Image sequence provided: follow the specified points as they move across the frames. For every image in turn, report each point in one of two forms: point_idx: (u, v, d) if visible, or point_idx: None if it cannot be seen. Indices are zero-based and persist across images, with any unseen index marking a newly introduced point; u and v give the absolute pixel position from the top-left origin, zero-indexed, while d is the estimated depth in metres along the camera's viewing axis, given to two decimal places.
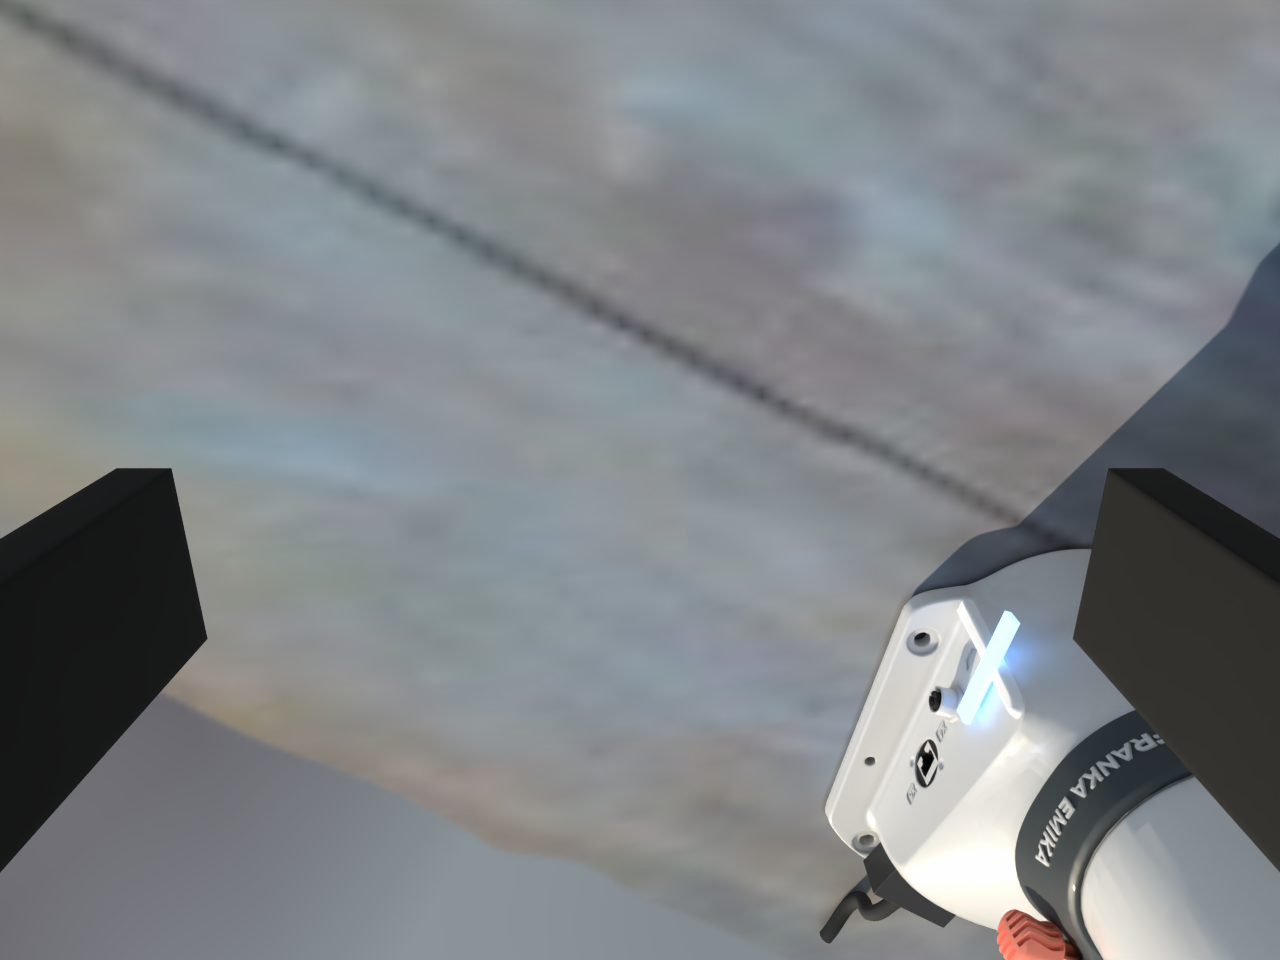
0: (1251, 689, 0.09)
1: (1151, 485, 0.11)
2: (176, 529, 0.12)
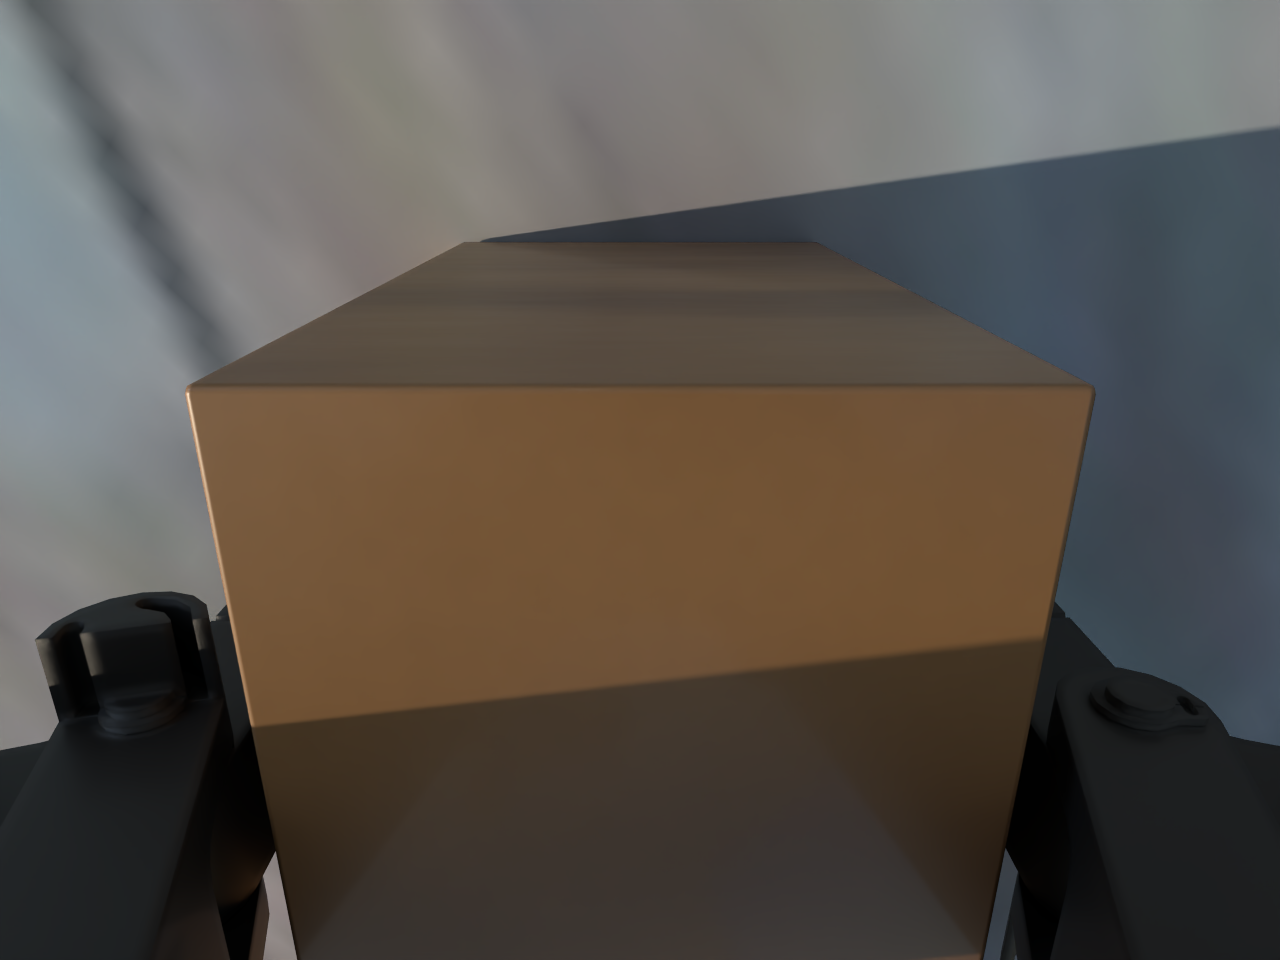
0: None
1: None
2: None
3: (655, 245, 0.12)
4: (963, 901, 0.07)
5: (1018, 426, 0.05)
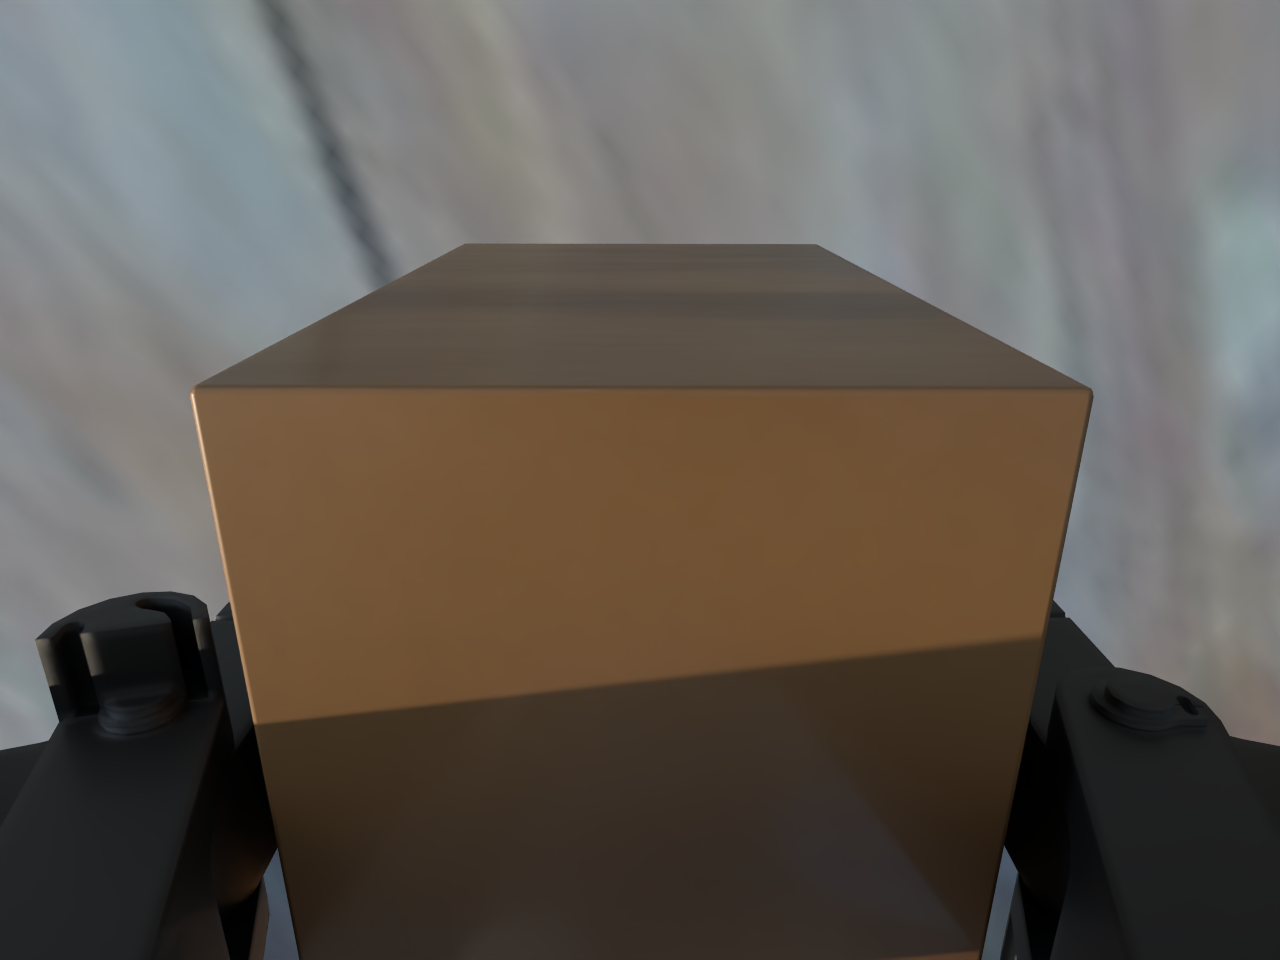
0: None
1: None
2: None
3: (656, 247, 0.13)
4: (961, 900, 0.07)
5: (1016, 430, 0.05)
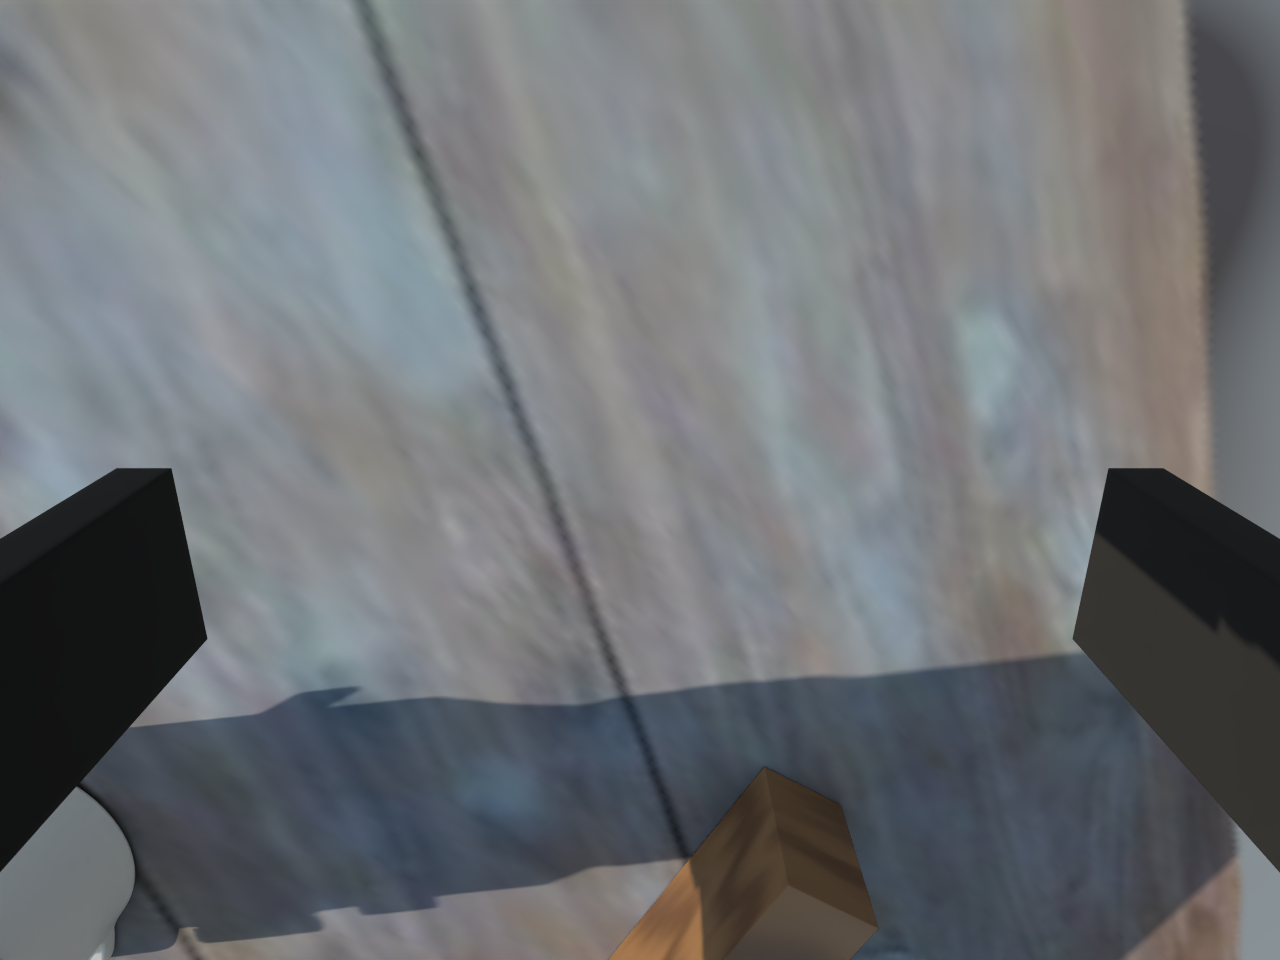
0: (1251, 689, 0.09)
1: (1150, 485, 0.11)
2: (176, 529, 0.12)
3: (808, 793, 0.49)
4: None
5: (868, 928, 0.42)
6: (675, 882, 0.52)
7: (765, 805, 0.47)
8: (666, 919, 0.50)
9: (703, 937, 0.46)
